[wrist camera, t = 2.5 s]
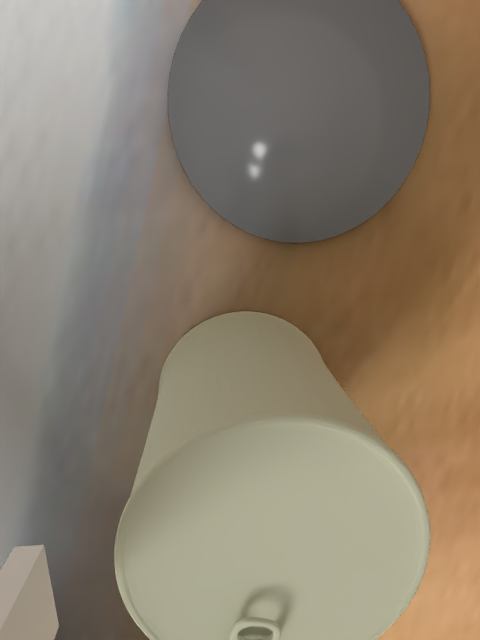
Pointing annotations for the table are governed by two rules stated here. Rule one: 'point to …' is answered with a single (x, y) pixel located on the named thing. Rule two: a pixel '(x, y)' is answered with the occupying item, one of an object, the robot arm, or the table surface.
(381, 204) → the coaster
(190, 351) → the can
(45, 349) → the table surface
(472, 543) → the table surface
